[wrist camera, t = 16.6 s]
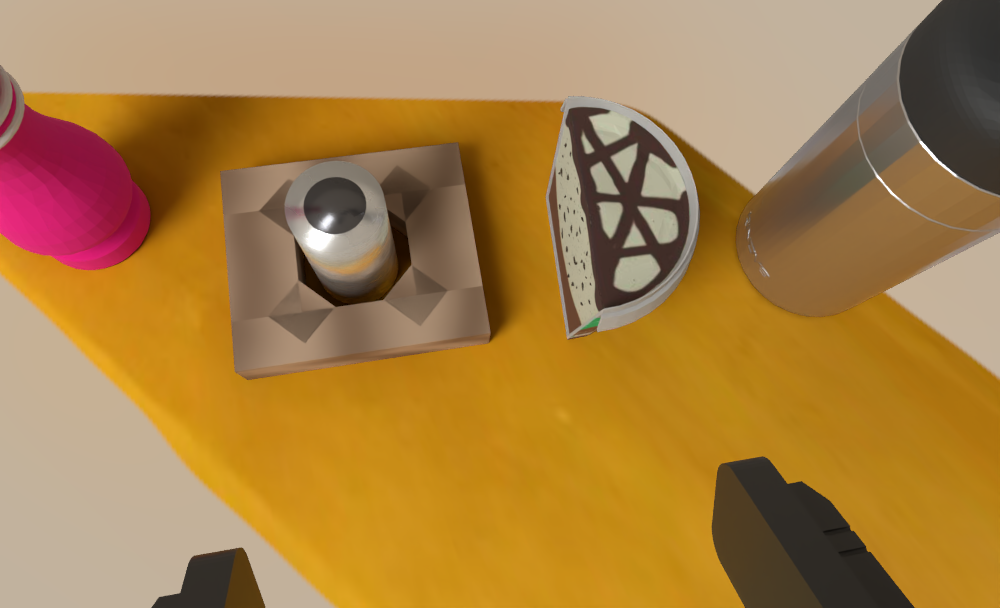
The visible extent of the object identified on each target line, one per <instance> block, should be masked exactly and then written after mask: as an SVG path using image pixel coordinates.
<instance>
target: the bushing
mask: <svg viewBox="0 0 1000 608" xmlns="http://www.w3.org/2000/svg"><path fill="white" fill-rule="evenodd" d="M285 216H286V220H287V223H288V225H289V227H290V229H291V231H292V233H293V235H294V236H295V238H296V240H297V242H298V243H299V245H300V247H301V249H302V250H303V252H304V254H305V256H306V257H307V259H308V261H309V263H310V264H311V266H312V268H313V270H314V271H315V273H316V275H317V277H318V278H319V280H320V282H321V284H322V285H323V287H324V289H325V290H326V291H327V292H328V293H329V294H330V295H331V296H332V297H333V298H335V299H337V300H339V301H341V302H343V303H347V304H352V305H354V304H360V303H367V302H373V301H376V300H378V299H379V298H381V297H382V296H384V295H385V294H386V293H387V292H388V291H389V290H390V288H391V287H392V286H393V284H394V282H395V280H396V277H397V273H398V259H397V254H396V250H395V245H394V240H393V236H392V231H391V226H390V222H389V217H388V212H387V208H386V203H385V198H384V194H383V191H382V188H381V186H380V184H379V183H378V181H377V180H376V179H375V177H374V176H373V175H372V174H371V173H369V172H368V171H367V170H366V169H364V168H362V167H360V166H358V165H356V164H353V163H350V162H345V161H329V162H323V163H320V164H317V165H315V166H312V167H310V168H309V169H307V170H305V171H304V172H303V173H301V174H300V175H299V176H298V177H297V178H296V179H295V181H294V182H293V183H292V185H291V187H290V188H289V191H288V193H287V196H286V199H285Z"/></svg>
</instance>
